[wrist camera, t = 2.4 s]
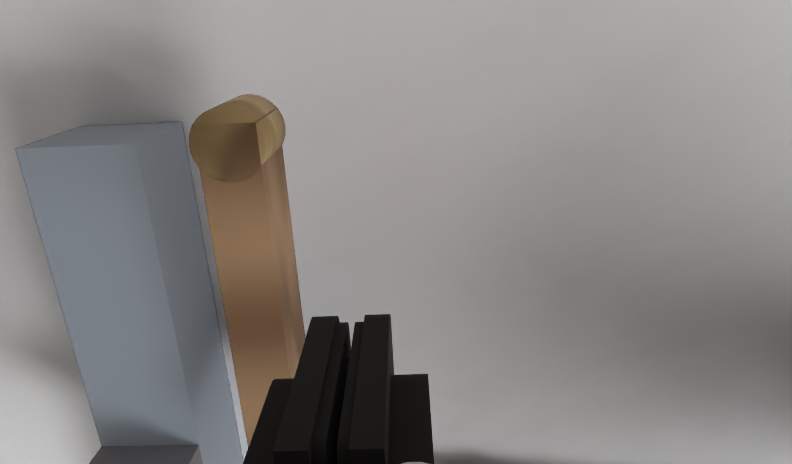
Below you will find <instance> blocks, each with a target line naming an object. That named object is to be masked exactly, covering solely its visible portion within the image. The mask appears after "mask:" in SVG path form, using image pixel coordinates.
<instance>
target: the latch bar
mask: <svg viewBox="0 0 792 464" xmlns="http://www.w3.org/2000/svg"><path fill="white" fill-rule="evenodd" d="M284 138H285V123H284V119H283V117H282V115H281V113H280V111H279V110H278V108H277V107H276V106H275V105H274V104H273V103H272V102H270V101H269V100H267V99H266V98H263V97H261V96H258V95H252V94H247V95H241V96H238V97H236V98H234V99H231V100H229V101H227V102H225V103H223V104H221V105H219V106H216V107H214V108H212V109H210V110H208V111H206V112H204V113H203V114H201V115H200V116H199V117H198V118H197V119H196V120H195V122H194V123H193V125H192V128H191V130H190V134H189V148H190V152H191V155H192V157H193V159H194V161H195V163H196V164H197V166H198V167H199V169H200V175H201V180H202V186H203V192H204V198H205V203H206V209H207V215H208V220H209V226H210V232H211V238H212V243H213V249H214V255H215V260H216V266H217V272H218V278H219V283H220V289H221V295H222V300H223V306H224V312H225V318H226V323H227V329H228V335H229V340H230V346H231V352H232V358H233V363H234V369H235V375H236V380H237V386H238V392H239V398H240V403H241V409H242V415H243V420H244V426H245V432H246V438H247V443H248V448H249V445H250V442H251V439H252V436H253V433H254V431H255V428H256V425H257V422H258V419H259V416H260V414H261V411H262V408H263V405H264V402H265V399H266V396H267V394H268V391H269V388H270V385H271V383H272V381H273V380H274V379H286V378H294V376H295V373H296V370H297V366H298V363H299V359H300V356H301V353H302V349H303V346H304V342H305V334H304V326H303V317H302V309H301V301H300V292H299V284H298V275H297V267H296V259H295V250H294V242H293V234H292V225H291V217H290V208H289V200H288V192H287V183H286V175H285V166H284V158H283V150H282V144H283V141H284Z"/></svg>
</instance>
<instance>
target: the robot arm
mask: <svg viewBox="0 0 792 464" xmlns="http://www.w3.org/2000/svg"><path fill="white" fill-rule="evenodd" d="M243 464H434V456H433V441H432V427H431V413H430V398H429V384H428V374H412V375H394V366H393V348H392V331H391V316H390V314H383V315H365V318H364V322H355V327H354V333H353V340H352V347H351V345H350V334H349V325H348V322H345V323H340V322H339V317H338V316H325V317H312V319H311V322H310V325H309V329H308V332H307V336H306V339H305V342H304V346H303V349H302V353H301V356H300V359H299V363H298V366H297V370H296V373H295V376H294V378H286V379H274V380H273V381H272V383H271V385H270V388H269V391H268V394H267V396H266V399H265V402H264V405H263V408H262V411H261V414H260V416H259V419H258V422H257V425H256V428H255V431H254V433H253V436H252V439H251V442H250V445H249V448H248V451H247V453H246V456H245V459H244V462H243Z"/></svg>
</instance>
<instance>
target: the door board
mask: <svg viewBox="0 0 792 464" xmlns="http://www.w3.org/2000/svg"><path fill="white" fill-rule="evenodd" d="M15 150H16V153H17V157H18V160H19V164H20V167H21V171H22V174H23V177H24V181H25V184H26V188H27V191H28V195H29V198H30V202H31V205H32V208H33V212H34V215H35V219H36V222H37V226H38V229H39V232H40V236H41V239H42V243H43V246H44V250H45V253H46V256H47V260H48V263H49V267H50V270H51V274H52V277H53V280H54V284H55V287H56V291H57V294H58V298H59V301H60V304H61V308H62V311H63V315H64V318H65V322H66V325H67V329H68V332H69V335H70V339H71V342H72V346H73V349H74V353H75V356H76V359H77V363H78V366H79V370H80V373H81V377H82V380H83V383H84V387H85V390H86V394H87V397H88V401H89V404H90V407H91V411H92V414H93V418H94V421H95V425H96V428H97V431H98V435H99V438H100V442H101V445H102V447H101V448H100V449H99V451H98V452H97V454H96V455H95V456H94V458H93V459H92V461H91V462H90V463H89V464H243V457H242V452H241V446H240V441H239V435H238V430H237V424H236V419H235V413H234V408H233V402H232V397H231V391H230V386H229V380H228V375H227V369H226V364H225V358H224V352H223V347H222V341H221V336H220V330H219V325H218V319H217V314H216V308H215V303H214V297H213V292H212V286H211V281H210V275H209V270H208V264H207V259H206V253H205V247H204V242H203V236H202V231H201V225H200V220H199V214H198V209H197V203H196V198H195V192H194V187H193V181H192V176H191V170H190V165H189V159H188V154H187V148H186V143H185V137H184V131H183V126H182V122H168V123H144V124H120V125H95V126H81V127H78V128H75V129H72V130H69V131H66V132H63V133H60V134H57V135H54V136H51V137H48V138H45V139H42V140H39V141H36V142H33V143H30V144H27V145H24V146H21V147H18V148H15Z"/></svg>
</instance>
